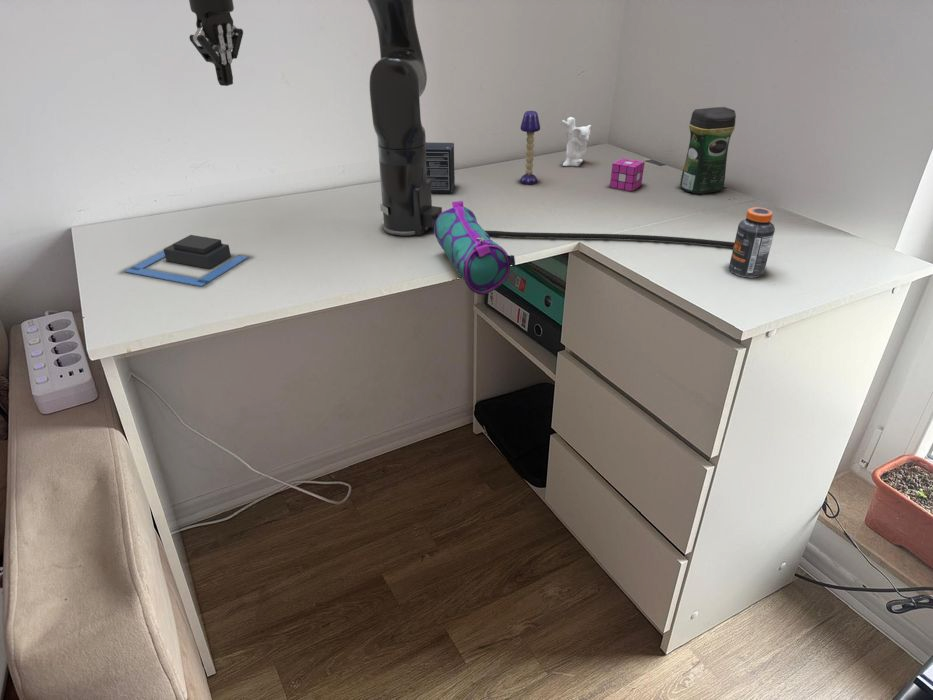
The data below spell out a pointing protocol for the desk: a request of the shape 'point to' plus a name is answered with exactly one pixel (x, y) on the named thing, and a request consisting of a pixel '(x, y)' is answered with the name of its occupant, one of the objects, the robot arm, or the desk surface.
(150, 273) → the frame
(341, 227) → the desk surface
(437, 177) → the small box
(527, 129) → the toy lamp
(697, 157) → the coffee jar
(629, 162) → the puzzle toy
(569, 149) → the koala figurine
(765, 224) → the pill bottle
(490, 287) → the pencil case
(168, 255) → the dark raised-panel slab
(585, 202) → the desk surface
